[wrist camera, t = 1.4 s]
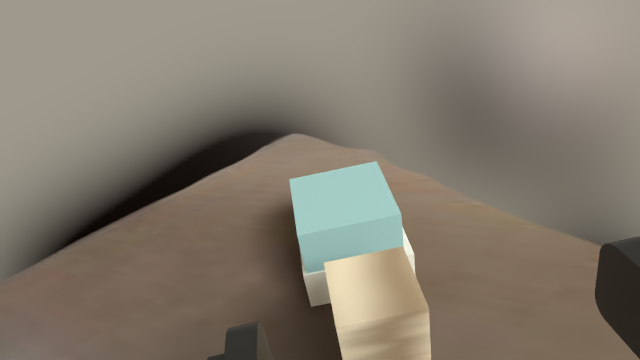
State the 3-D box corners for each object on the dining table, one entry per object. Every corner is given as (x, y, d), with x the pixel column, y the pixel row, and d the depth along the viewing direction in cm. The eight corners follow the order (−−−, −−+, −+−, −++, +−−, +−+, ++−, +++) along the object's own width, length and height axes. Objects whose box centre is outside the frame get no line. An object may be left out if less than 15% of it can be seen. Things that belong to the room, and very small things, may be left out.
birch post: (357, 428, 30) (335, 327, 24) (344, 361, 34) (323, 262, 28) (433, 412, 30) (428, 308, 24) (411, 347, 34) (403, 246, 28)
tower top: (306, 273, 37) (297, 235, 35) (297, 214, 43) (289, 179, 41) (404, 252, 37) (401, 213, 35) (380, 196, 44) (376, 161, 41)
